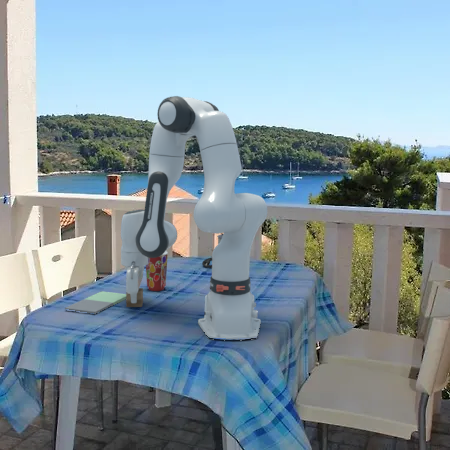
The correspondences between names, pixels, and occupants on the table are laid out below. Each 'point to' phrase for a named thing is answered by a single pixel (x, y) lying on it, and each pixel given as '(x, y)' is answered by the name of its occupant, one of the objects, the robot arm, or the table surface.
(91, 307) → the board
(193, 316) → the table surface
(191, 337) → the table surface
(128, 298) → the walnut block
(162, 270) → the smoothie
